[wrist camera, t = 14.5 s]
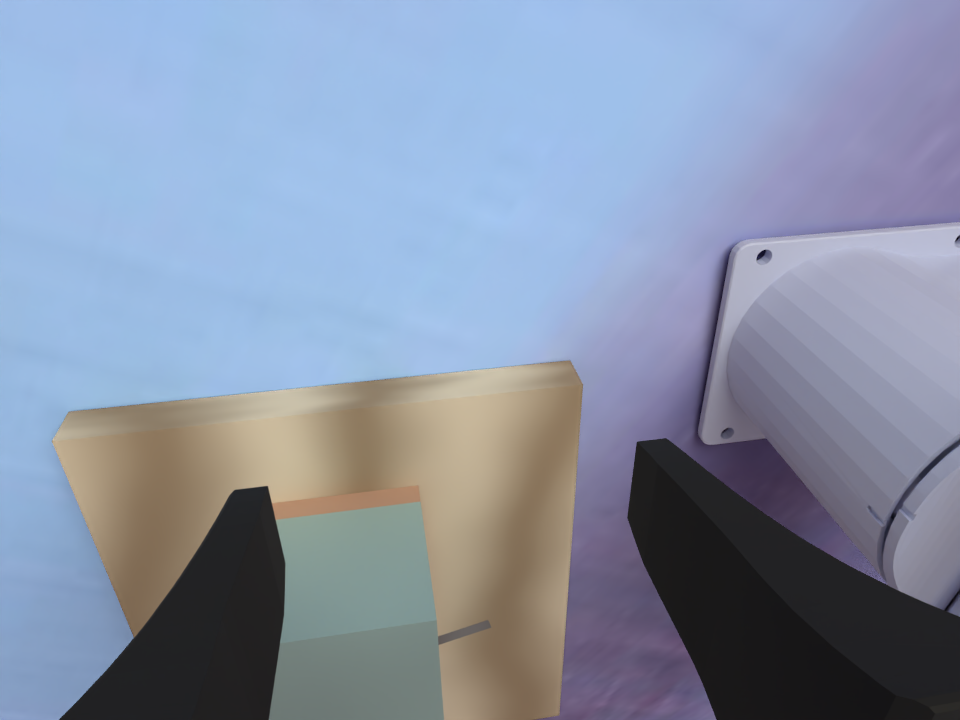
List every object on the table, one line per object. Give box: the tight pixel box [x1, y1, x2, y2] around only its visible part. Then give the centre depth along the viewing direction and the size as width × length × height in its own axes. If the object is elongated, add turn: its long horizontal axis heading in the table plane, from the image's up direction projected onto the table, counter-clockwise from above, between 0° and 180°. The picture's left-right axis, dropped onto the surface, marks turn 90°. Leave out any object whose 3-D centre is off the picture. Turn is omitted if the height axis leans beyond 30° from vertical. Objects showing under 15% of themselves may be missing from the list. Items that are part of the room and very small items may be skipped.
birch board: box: [52, 361, 583, 720], centre depth 27 cm, size 16×18×2 cm
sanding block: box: [269, 485, 444, 720], centre depth 23 cm, size 5×9×6 cm, turn 1°
